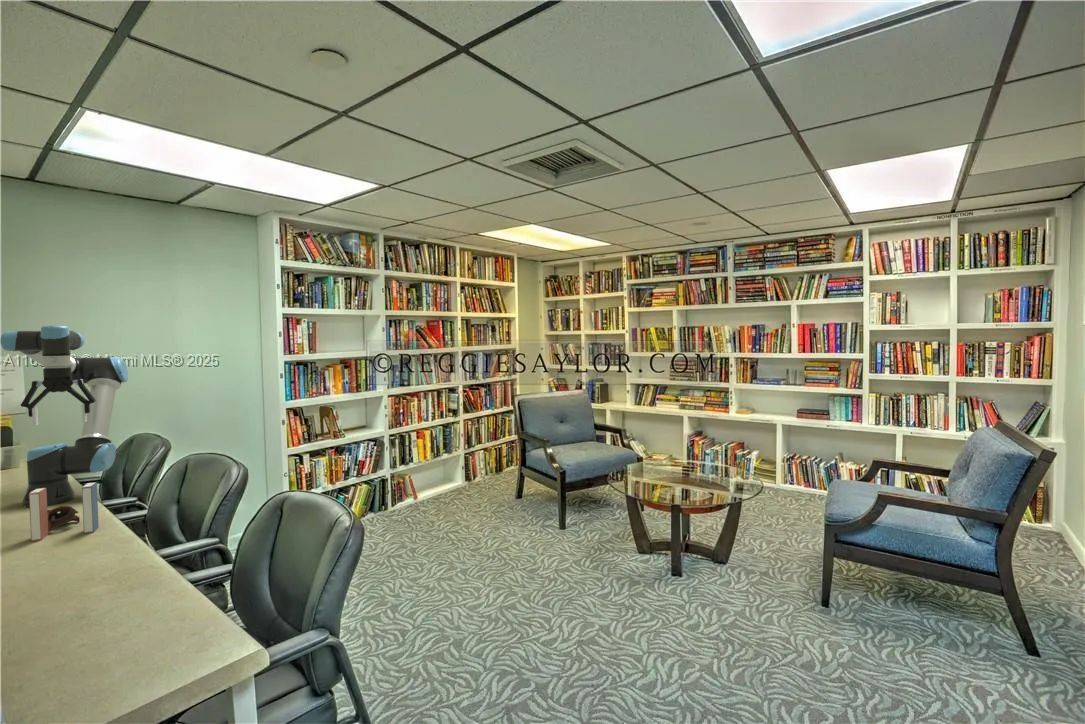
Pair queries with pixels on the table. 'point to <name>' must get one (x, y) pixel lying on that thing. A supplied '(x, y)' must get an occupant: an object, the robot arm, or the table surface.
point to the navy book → (90, 507)
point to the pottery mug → (61, 516)
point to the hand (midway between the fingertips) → (60, 423)
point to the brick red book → (38, 514)
